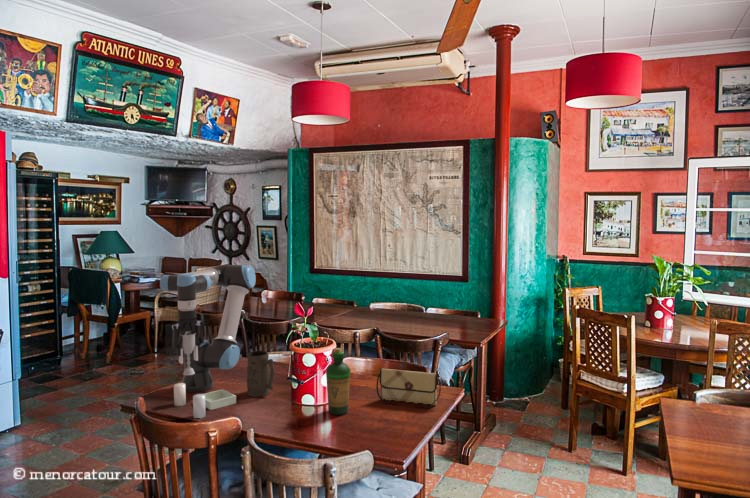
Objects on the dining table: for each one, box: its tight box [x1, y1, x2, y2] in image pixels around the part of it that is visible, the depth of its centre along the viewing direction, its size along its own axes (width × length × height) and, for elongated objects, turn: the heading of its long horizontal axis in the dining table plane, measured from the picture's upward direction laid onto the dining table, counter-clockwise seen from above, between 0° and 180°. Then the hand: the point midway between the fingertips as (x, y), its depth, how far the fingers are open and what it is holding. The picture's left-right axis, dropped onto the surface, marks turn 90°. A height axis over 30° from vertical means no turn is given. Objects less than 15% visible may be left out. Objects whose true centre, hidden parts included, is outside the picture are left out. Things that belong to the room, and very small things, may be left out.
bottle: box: [325, 347, 351, 416], centre depth 238 cm, size 11×11×28 cm
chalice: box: [181, 330, 197, 376], centre depth 240 cm, size 7×7×18 cm
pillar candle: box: [192, 393, 207, 419], centre depth 234 cm, size 5×5×9 cm
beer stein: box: [246, 350, 275, 398], centre depth 262 cm, size 15×11×20 cm
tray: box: [204, 388, 237, 411], centre depth 250 cm, size 13×13×4 cm
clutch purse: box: [376, 367, 442, 409], centre depth 248 cm, size 30×7×15 cm, turn 72°
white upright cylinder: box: [173, 382, 187, 407], centre depth 248 cm, size 5×5×9 cm
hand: (188, 361), depth 240 cm, fingers closed on chalice, 6 cm apart
